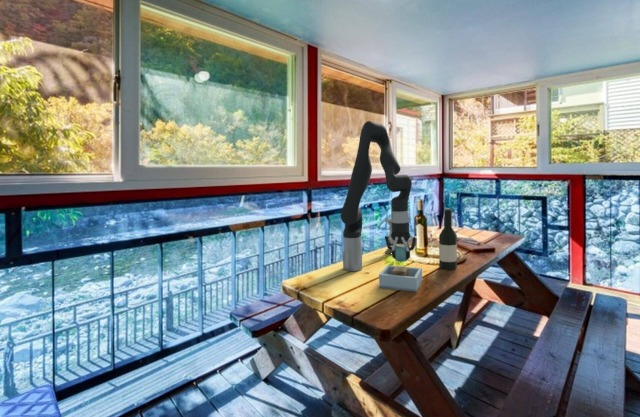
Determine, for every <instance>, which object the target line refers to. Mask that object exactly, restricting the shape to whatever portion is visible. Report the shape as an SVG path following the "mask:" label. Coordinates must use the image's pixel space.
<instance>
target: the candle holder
mask: <svg viewBox="0 0 640 417" xmlns="http://www.w3.org/2000/svg"><path fill="white" fill-rule="evenodd" d="M384 222H385V223H387V224H388V230H389V234H388V235H391V233H392V225H391V218H386V219H385V221H384ZM390 243H391V246H393V243H394V240H393V239H392V238H391V239H390ZM391 253H392V250H391V249H388V248H386V250H385V251H384V254H386V255H389V254H391ZM389 256H390V255H389Z"/></svg>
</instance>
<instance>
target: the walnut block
mask: <svg viewBox="0 0 640 417" xmlns="http://www.w3.org/2000/svg"><path fill="white" fill-rule="evenodd" d="M395 266H396V267H395V268H394V270H393V271H392V272H393V275H399V276H409V273H408V267H409V266H402V267H399V265H395Z"/></svg>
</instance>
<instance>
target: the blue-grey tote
mask: <svg viewBox="0 0 640 417" xmlns="http://www.w3.org/2000/svg"><path fill="white" fill-rule="evenodd" d="M396 266H397V265H389V264H388V265H386V266H385V267H384V268H383V269H382V270H381V271H380V272H379V274H378V282H379V283H378V287H379V289H387V290H396V291H402V292H403V291H405V292H413V293H417V292H418V291H419V288H420V286H421V284H422V282H423V268H422V267H411V266H407V267H408V273H409V276H399V275H393V272H392V271H393V270H394V268H395V267H396ZM398 266H399V265H398ZM399 267H403V266H399Z"/></svg>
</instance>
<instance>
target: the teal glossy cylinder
mask: <svg viewBox="0 0 640 417" xmlns="http://www.w3.org/2000/svg"><path fill="white" fill-rule="evenodd" d="M406 251H407V250H406V248H405V246H404V245H403V244H401V245H400V244H398V245H397V246H396V247H395V259H394V260H395V261H396V262H402V263H404V262H406V261H408V260H406Z"/></svg>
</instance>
